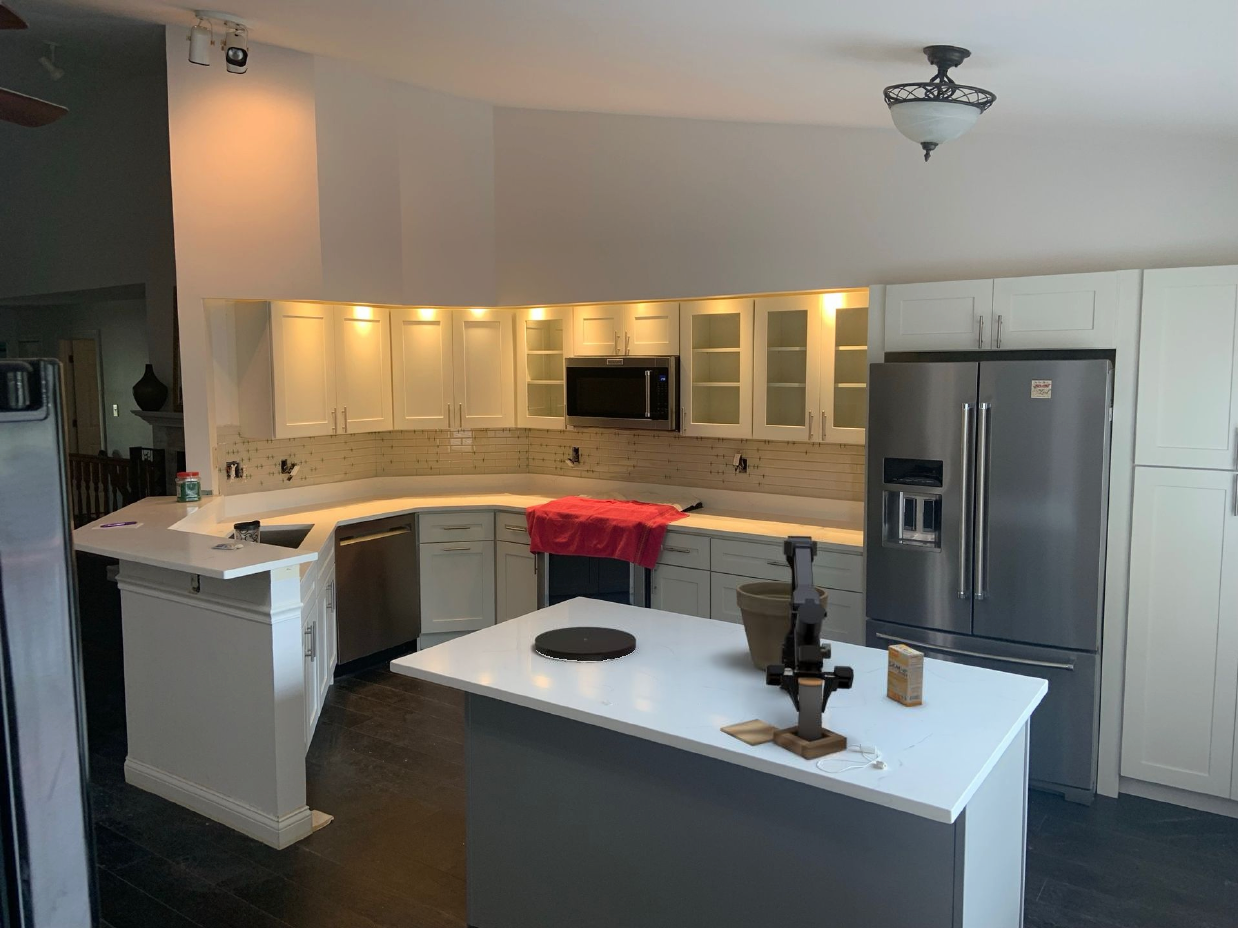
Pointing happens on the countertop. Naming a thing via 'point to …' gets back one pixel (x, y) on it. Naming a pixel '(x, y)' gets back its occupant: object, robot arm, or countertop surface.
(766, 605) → the plant pot
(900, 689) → the supplement box
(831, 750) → the wooden square frame
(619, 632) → the disc
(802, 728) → the plug
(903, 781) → the countertop surface
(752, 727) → the cork mat
